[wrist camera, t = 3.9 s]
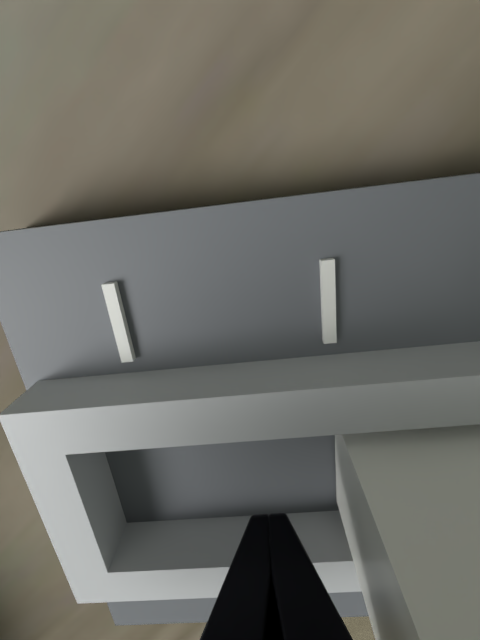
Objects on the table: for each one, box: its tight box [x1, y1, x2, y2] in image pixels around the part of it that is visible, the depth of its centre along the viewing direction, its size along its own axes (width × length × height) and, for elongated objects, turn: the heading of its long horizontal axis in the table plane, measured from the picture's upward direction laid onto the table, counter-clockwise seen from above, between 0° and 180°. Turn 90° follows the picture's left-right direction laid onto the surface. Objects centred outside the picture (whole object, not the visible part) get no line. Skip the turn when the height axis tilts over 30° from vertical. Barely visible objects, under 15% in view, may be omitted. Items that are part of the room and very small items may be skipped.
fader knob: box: [335, 424, 480, 640], centre depth 7 cm, size 3×4×5 cm
